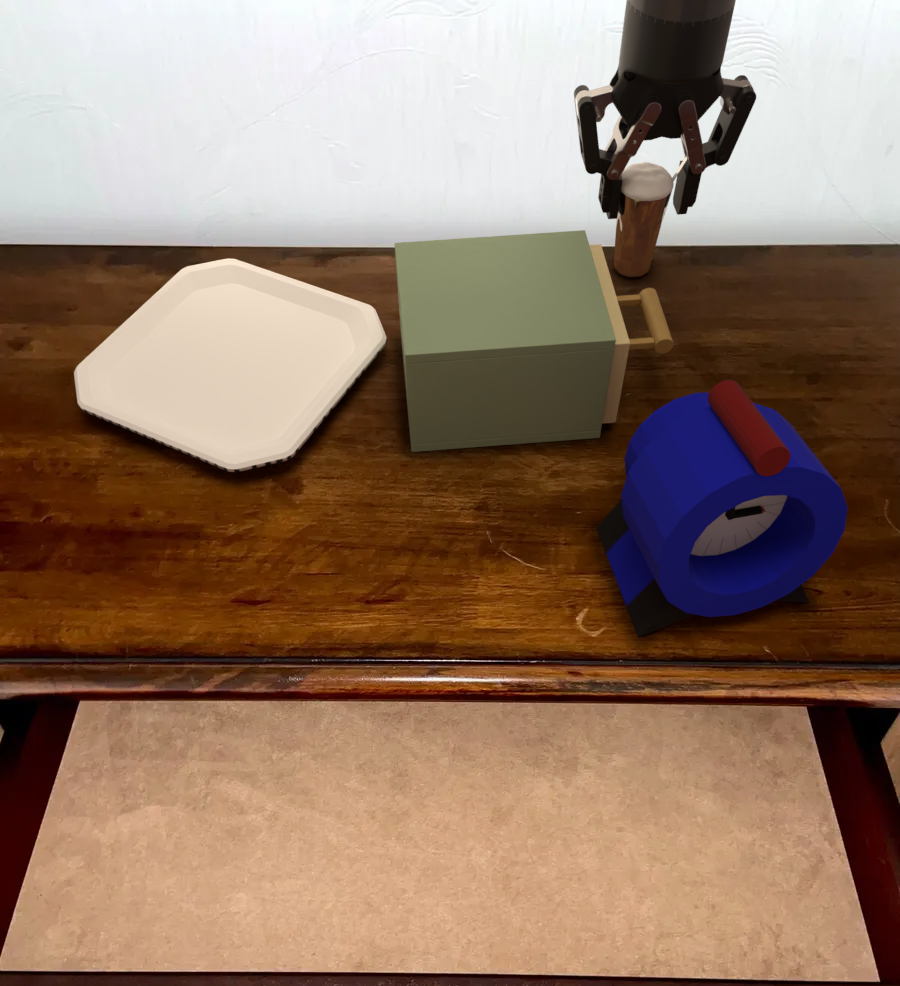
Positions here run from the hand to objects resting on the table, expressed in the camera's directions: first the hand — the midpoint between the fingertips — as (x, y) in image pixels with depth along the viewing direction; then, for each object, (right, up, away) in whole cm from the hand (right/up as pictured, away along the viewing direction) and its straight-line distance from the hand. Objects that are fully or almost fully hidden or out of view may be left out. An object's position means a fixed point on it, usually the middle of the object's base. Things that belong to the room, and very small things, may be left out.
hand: (645, 210), depth 80 cm
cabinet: (-13, -16, -4) cm, 21 cm away
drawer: (-9, -15, -4) cm, 18 cm away
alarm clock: (+1, -30, -13) cm, 33 cm away
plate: (-34, -14, -2) cm, 37 cm away
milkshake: (0, -3, +5) cm, 6 cm away
